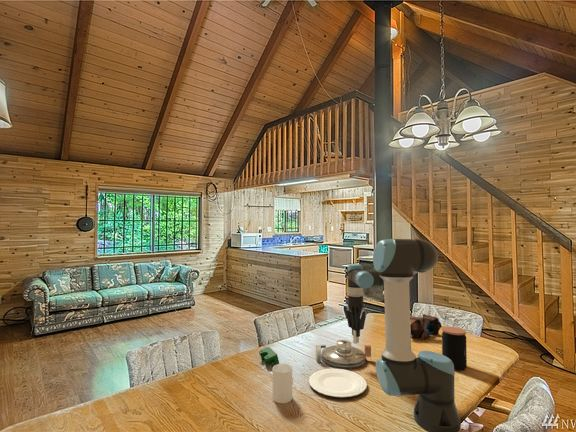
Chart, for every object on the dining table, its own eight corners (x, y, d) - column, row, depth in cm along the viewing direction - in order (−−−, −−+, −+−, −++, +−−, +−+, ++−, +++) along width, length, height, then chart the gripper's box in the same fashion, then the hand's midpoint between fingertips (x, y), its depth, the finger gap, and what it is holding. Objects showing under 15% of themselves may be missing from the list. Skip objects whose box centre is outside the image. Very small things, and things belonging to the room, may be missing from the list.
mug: (284, 386, 138) (284, 358, 138) (296, 400, 127) (296, 370, 127) (266, 390, 134) (266, 361, 135) (276, 405, 123) (276, 373, 124)
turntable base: (345, 374, 148) (345, 357, 149) (309, 359, 165) (309, 343, 166) (374, 359, 165) (374, 344, 165) (339, 347, 182) (339, 333, 182)
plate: (321, 405, 124) (321, 400, 124) (301, 376, 148) (301, 371, 148) (378, 396, 130) (378, 391, 130) (350, 369, 155) (350, 365, 155)
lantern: (429, 342, 207) (404, 347, 194) (416, 319, 216) (390, 322, 204) (448, 331, 197) (422, 336, 184) (433, 307, 206) (407, 310, 194)
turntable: (321, 363, 156) (321, 352, 156) (322, 346, 178) (322, 336, 178) (373, 366, 153) (373, 354, 153) (368, 348, 175) (368, 338, 175)
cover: (344, 358, 159) (344, 346, 159) (330, 351, 167) (330, 340, 167) (356, 354, 165) (357, 343, 165) (342, 347, 172) (343, 337, 173)
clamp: (263, 369, 164) (257, 351, 167) (273, 364, 167) (267, 346, 169) (269, 369, 154) (263, 350, 156) (280, 363, 157) (273, 345, 159)
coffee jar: (470, 372, 151) (469, 334, 151) (445, 370, 153) (445, 332, 154) (462, 362, 161) (461, 327, 162) (439, 361, 164) (439, 325, 164)
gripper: (370, 296, 158) (371, 344, 157) (349, 292, 168) (350, 337, 167) (362, 298, 153) (362, 348, 152) (340, 294, 163) (341, 341, 162)
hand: (356, 342), depth 160 cm, fingers closed
